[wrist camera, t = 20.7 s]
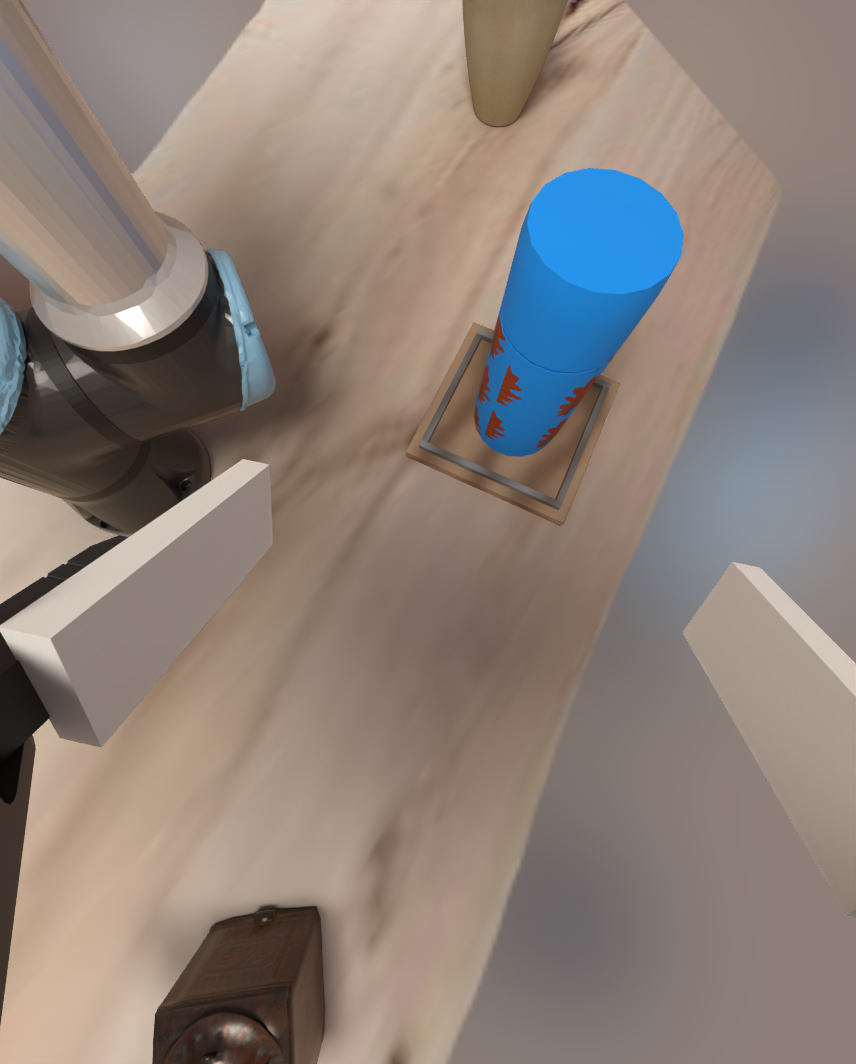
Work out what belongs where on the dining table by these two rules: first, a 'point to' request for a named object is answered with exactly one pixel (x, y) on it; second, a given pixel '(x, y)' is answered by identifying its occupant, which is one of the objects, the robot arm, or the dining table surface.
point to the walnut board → (518, 480)
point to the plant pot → (507, 52)
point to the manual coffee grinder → (248, 994)
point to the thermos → (572, 300)
